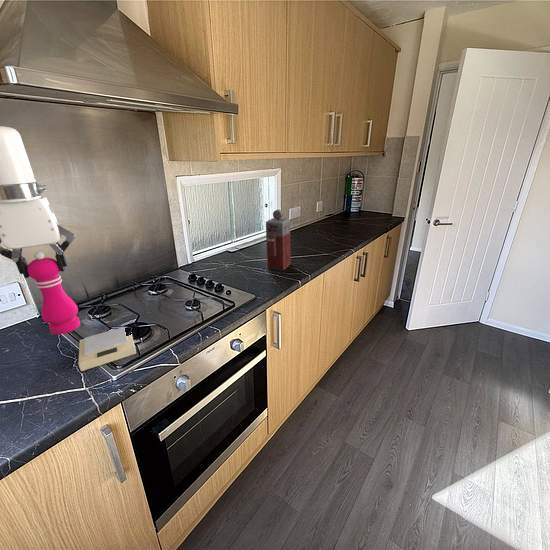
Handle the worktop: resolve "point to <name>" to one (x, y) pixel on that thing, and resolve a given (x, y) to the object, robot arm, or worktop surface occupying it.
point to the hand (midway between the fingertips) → (45, 272)
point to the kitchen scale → (105, 348)
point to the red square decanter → (278, 241)
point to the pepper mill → (53, 295)
